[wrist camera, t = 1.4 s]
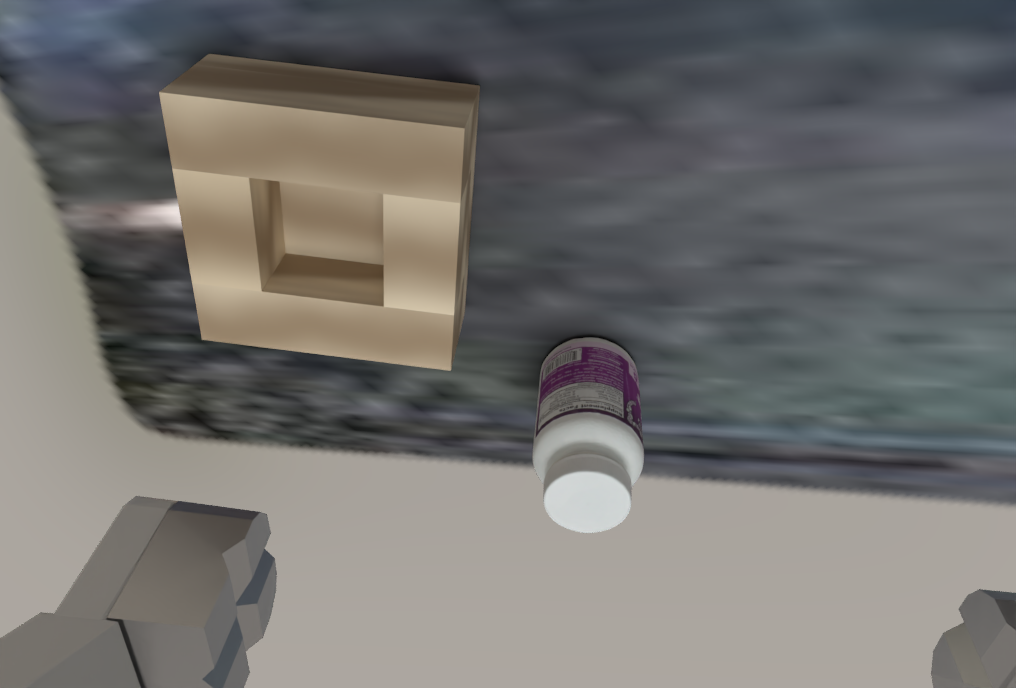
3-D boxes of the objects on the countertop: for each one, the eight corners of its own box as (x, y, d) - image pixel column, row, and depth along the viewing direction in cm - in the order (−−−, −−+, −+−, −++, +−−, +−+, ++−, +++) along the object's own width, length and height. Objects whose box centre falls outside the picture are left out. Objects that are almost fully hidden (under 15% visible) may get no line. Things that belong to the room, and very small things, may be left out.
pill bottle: (632, 413, 45) (640, 549, 38) (538, 406, 46) (526, 540, 38) (643, 335, 42) (654, 466, 34) (542, 329, 42) (530, 457, 35)
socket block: (208, 53, 35) (159, 92, 31) (480, 85, 35) (464, 128, 31) (239, 284, 42) (202, 339, 38) (464, 312, 42) (450, 370, 38)
